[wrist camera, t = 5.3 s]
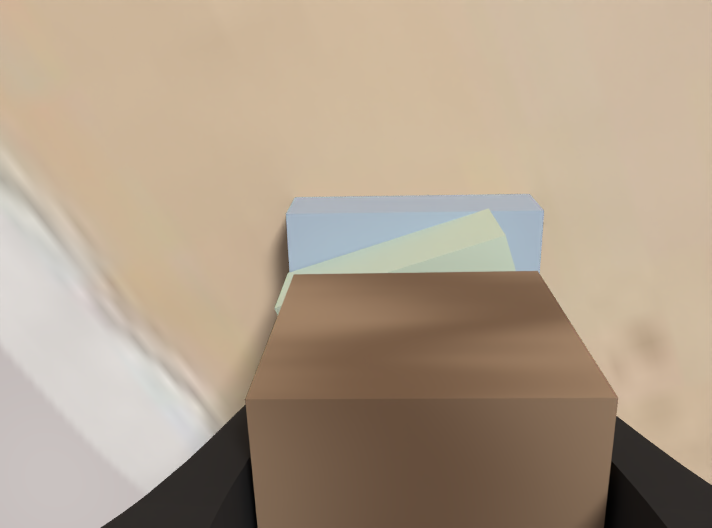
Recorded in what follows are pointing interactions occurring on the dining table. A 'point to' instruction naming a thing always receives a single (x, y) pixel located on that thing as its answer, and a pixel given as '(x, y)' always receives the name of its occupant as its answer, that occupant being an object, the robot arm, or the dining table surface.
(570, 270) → the dining table surface
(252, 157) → the dining table surface
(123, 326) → the dining table surface
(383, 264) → the sage block
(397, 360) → the walnut cube
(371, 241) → the slate slab
